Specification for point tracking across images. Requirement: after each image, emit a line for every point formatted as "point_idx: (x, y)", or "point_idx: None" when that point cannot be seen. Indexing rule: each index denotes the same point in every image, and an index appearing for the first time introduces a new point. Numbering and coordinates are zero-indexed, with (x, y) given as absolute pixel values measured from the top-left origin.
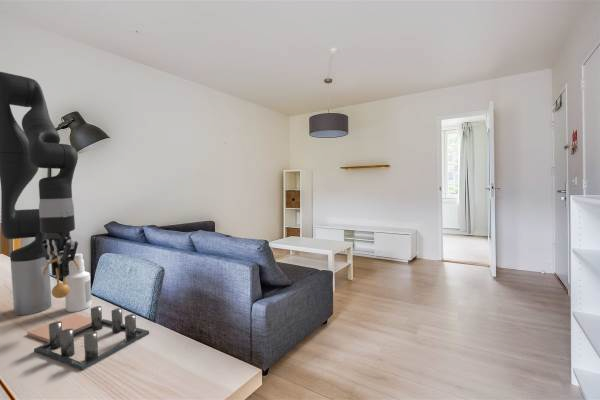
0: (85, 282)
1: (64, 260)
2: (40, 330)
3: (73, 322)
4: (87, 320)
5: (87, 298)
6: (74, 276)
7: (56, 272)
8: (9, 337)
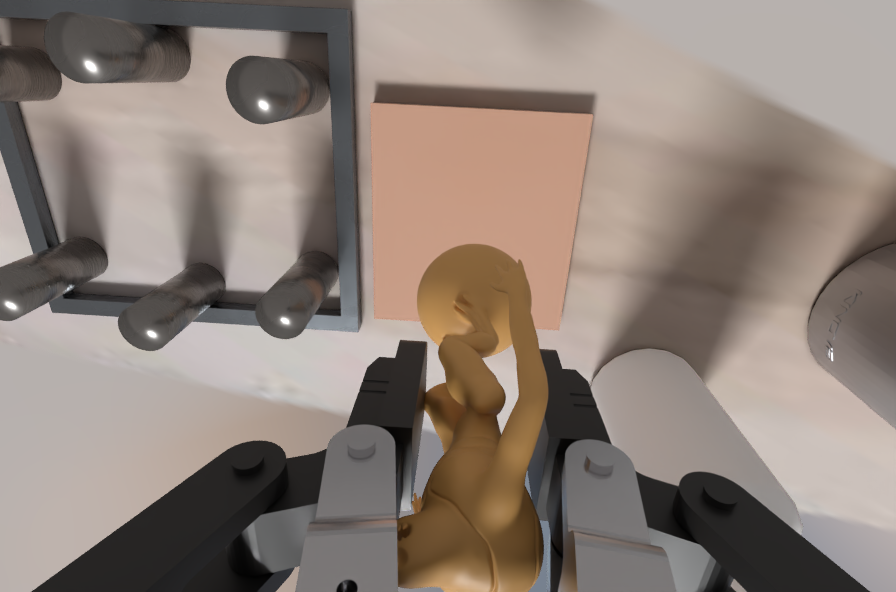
0: None
1: (213, 462)
2: (539, 151)
3: None
4: None
5: None
6: None
7: (474, 365)
8: (659, 59)
